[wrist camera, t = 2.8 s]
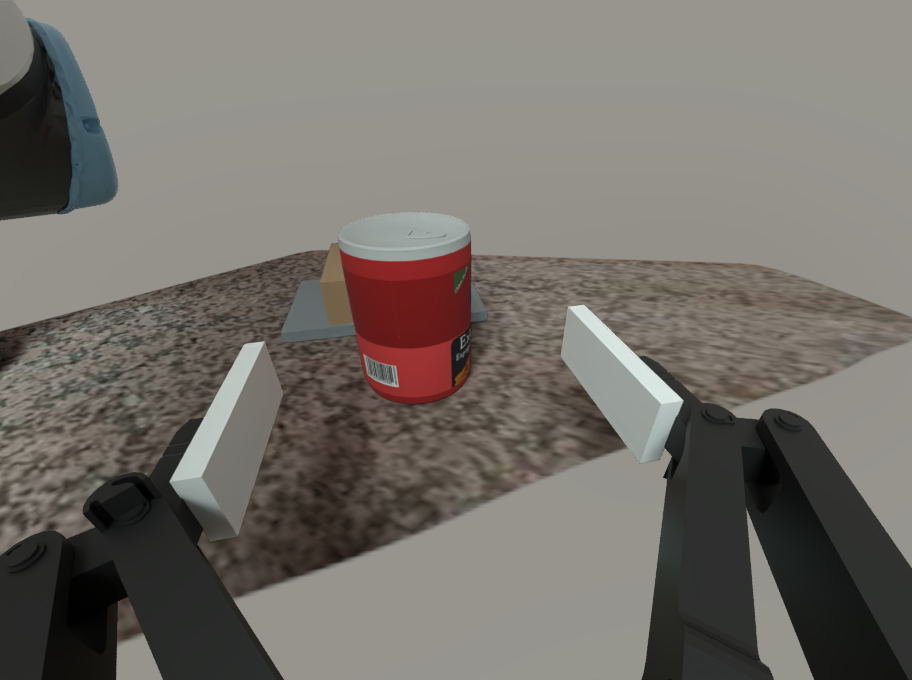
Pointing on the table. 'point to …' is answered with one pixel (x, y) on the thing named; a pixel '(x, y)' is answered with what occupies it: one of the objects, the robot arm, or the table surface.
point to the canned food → (410, 302)
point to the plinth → (317, 317)
